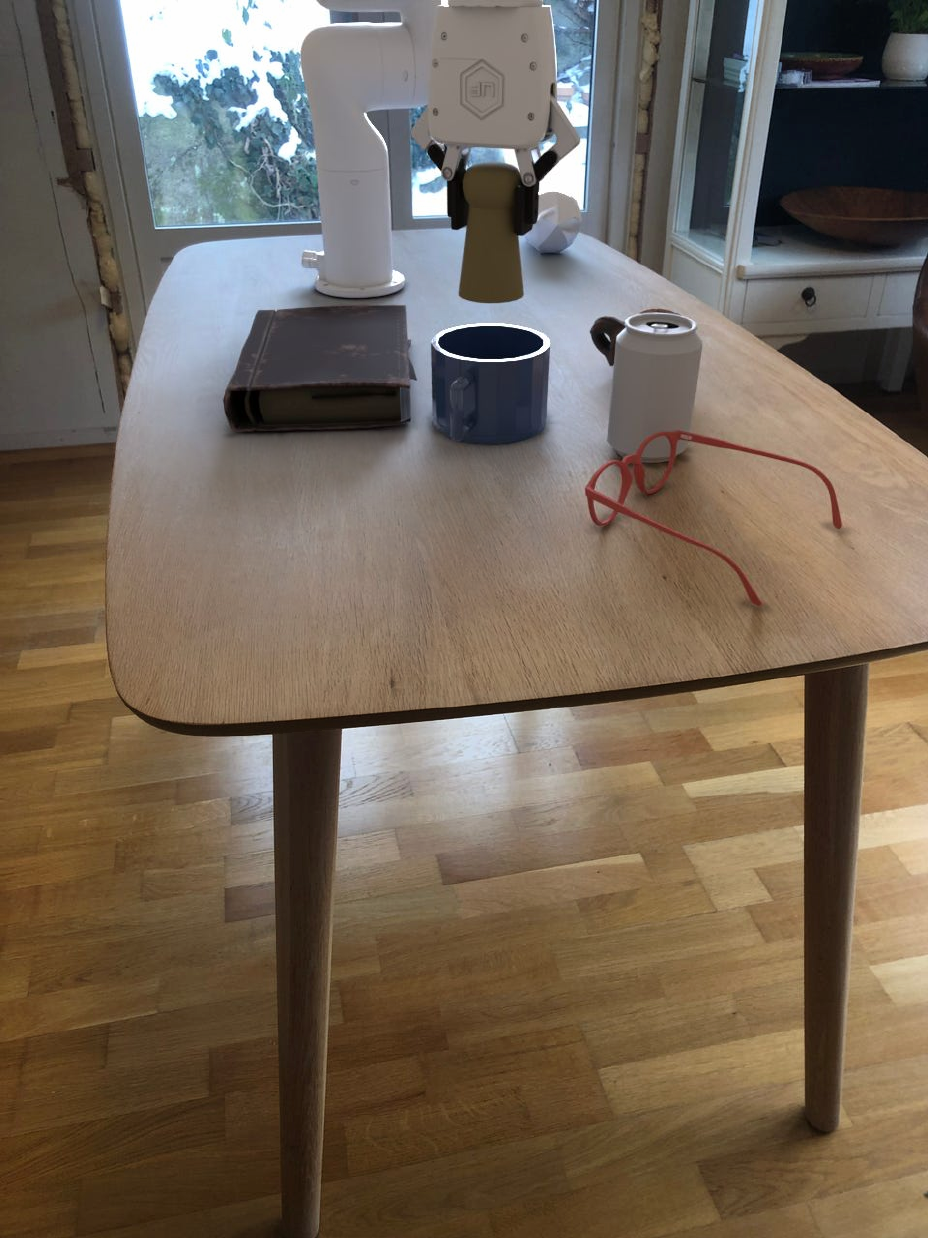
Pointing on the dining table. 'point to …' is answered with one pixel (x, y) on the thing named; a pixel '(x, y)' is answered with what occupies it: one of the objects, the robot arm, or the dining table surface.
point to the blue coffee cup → (490, 383)
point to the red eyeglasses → (640, 474)
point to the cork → (491, 235)
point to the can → (653, 384)
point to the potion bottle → (555, 222)
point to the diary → (322, 370)
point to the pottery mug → (612, 333)
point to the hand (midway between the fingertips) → (492, 227)
